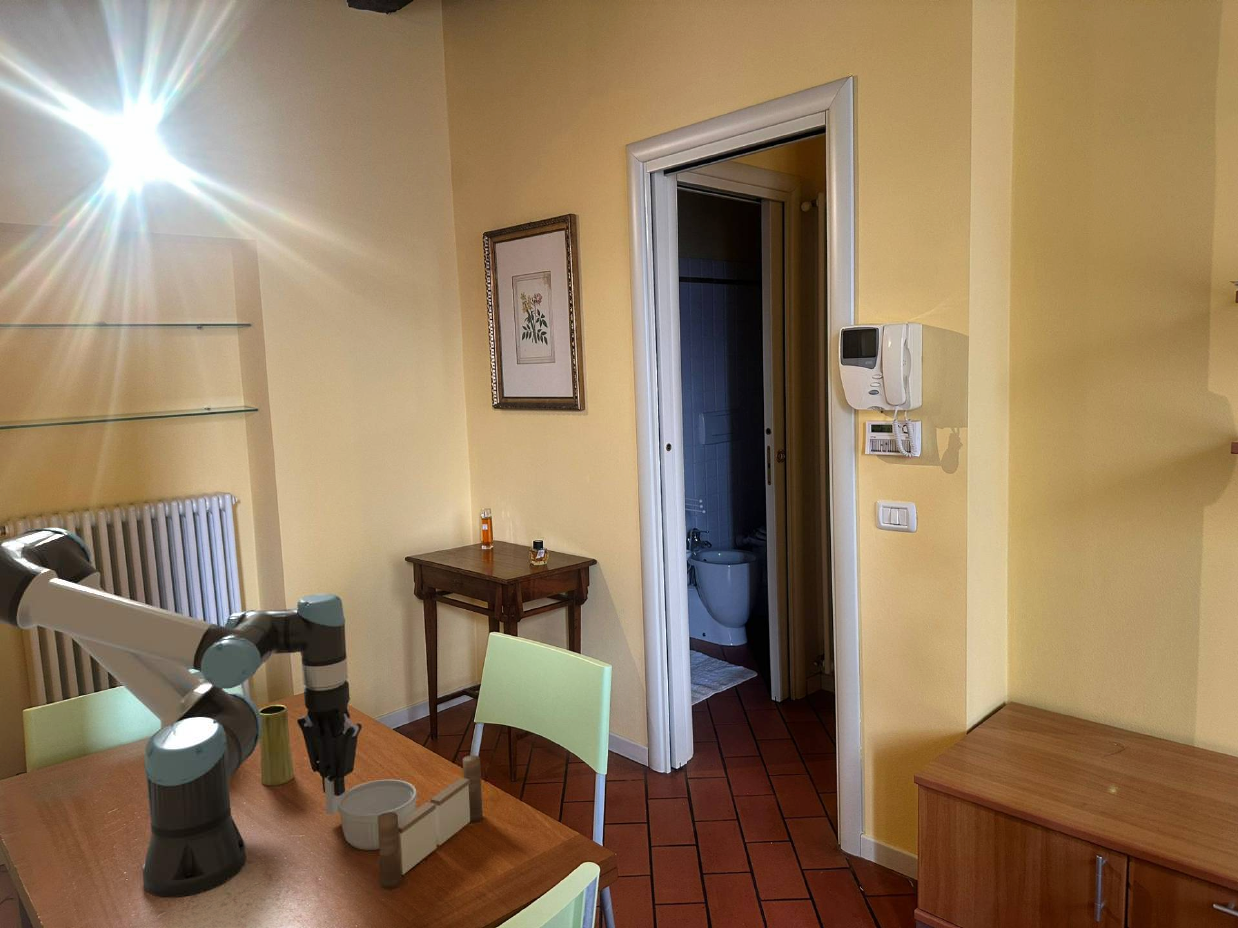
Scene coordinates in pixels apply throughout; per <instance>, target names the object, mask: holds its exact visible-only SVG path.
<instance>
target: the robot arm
mask: <svg viewBox="0 0 1238 928" xmlns="http://www.w3.org/2000/svg"><path fill="white" fill-rule="evenodd" d="M91 555H92V554H91V551H90V549H89V547H88V545H87V544H86V542H85V541H84V540H83V538H81V537H79V536H78V535H77V534H75V533H74V532H72V531H69V530H66V529H64V528H60V527H44V528H36V529H30V530H26V531H24V532H22V533H19V534H18V535H15V536H12V537H9V538H7V539H3V540H0V623H2V624H5V625H8V626H12V627H16V628H19V629H23V630H29V629H32V628H34V627H36V626H38V627H42V628H45V629H49V630H53V631H56V632H59V633H63V634H67V635H68V636H69V637H70V638H72V640H73V641H74V642H76V643H77V644H78V645H79V646H80V647H81V648H82V649H83V650H84V651H86V652H87V653H88V654H89V655H90V656H91V657H92V658H93V659H94V660H95V661H96V662H97V663H98V664H99V665H100V666H101V667H103V668H104V669H105V670H106V671H107V672H108V673H109V674H110V675H112V677H113V678H114V679H115V680H117V682H118V683H120V684H121V685H122V686H123V687H124V688H125V689H126V690H127V691H128V692H129V693H130V694H131V695H133V696H134V697H135V698H136V699H137V700H138V701H139V702H140V703H141V704H142V705H143V706H144V707H146V709H148V710H149V711H150V712H151V713H152V714H153V715H154V716H155V717H156V718H158V720H159V721H160V729H159V730H157V731H156V732H155V733H154V734H153V735H152V736H151V737H150V738H149V740H148V742H146V745H145V749H144V762H143V766H144V767H143V769H144V773H145V778H146V788H147V797H148V799H147V800H148V810H149V819H150V828H151V829H150V830H151V831H150V832H151V835H150V839H149V843H148V847H147V852H146V856H145V860H144V863H143V865H142V882H143V887H144V889H145V890H146V891H147V892H148V893H150V894H153V895H156V896H159V897H170V898H171V897H182V896H183V897H185V896H189V895H194V894H198V893H202V892H205V891H207V890H211V889H213V888H215V887H218V886H220V885H222V884H224V883H225V882H227V881H229V880H231V878H234V876H236V875H237V874H238V873H239V872H240V871H241V870H242V869H243V867H244V866H245V864H246V861H247V851H246V850H247V849H246V843H245V840H244V839H243V836H242V835H241V832H240V831H239V828H238V826H237V824H236V823H235V820H234V819H233V816H232V811H231V809H232V808H231V797H230V786H229V785H230V784H229V783H230V779H231V778H232V777H233V776H234V775H235V774H236V772H237V771H238V770H239V768H240V767H241V766H242V764H243V763H244V762H245V761H246V760H247V759H248V758H249V757H250V756H251V755H252V754H253V753H254V751H255V749H256V747H257V745H258V743H259V742H260V737H261V733H262V718H261V714H260V712H259V710H260V709H259V708H258V707H257V705H256V703H254V701H252V700H251V699H250V698H249V697H247V696H245V695H243V694H241V693H237V692H236V693H232V692H228V693H226V691H225V690H224V689H227V690H229V689H232V688H233V689H234V688H236V687H238V686H240V685H242V684H243V683H245V682H246V681H247V680H249V679H250V678H252V677H253V676H254V675H255V674H256V672H257V671H258V669H259V668H260V667H261V666H262V665H263V664H264V663H265V662H267V660H268V659H270V658H271V657H272V656H273V655H277V654H279V655H280V654H295V653H300V656H301V667H302V668H301V671H302V684H303V685H304V687H303V694H304V695H303V696H304V706H305V708H306V709H307V714H306V715H304V716H302V717H300V718H297V724H298V726H299V728H300V730H301V732H302V736H303V739H304V743H305V747H306V751H307V755H308V759H309V763H310V766H311V767H310V768H311V770H312V772H314V773H316V772H317V773H318V774H319V776H320V777H321V781H322V783H321V784H322V791H323V793H324V794H325V805H326V814H327V815H332V816H335V814H337V813H339V812H338V801H339V799H340V797H341V796H342V795H343V794H344V793H345V792H346V785H345V777H346V776H348V775H350V774H351V773H353V772H354V766H355V759H356V753H357V751H356V750H357V745H358V738H359V737H358V736H359V734H360V732H361V730H362V724H361V723H359V722H357V723H355V722H353V721H352V719H350V718H351V715H350V712H349V709H348V704H349V702H350V700H351V699H350V683H349V681H348V678H349V674H348V671H349V670H348V658H347V657H348V655H347V646H346V645H347V644H346V643H347V642H346V624H345V623H346V618H345V615H344V607H343V601H342V599H341V597H340V596H339V595H336V594H333V593H317V594H310V595H306V596H304V597H301V598H300V599H299V600H298V601H297V607H296V608H292V609H291V608H290V609H289V608H288V609H267V610H266V609H265V610H254V609H249V610H246V611H239V612H234V613H231V614H230V615H229V616H228V617H227V619H226V622H225V624H224V626H222V625H220V624H219V625H218V624H216V623H212V622H209V621H206V620H202V619H198V618H195V617H191V616H189V615H188V616H187V615H185V614H182V613H178V612H175V611H171V610H168V609H164V608H161V607H157V606H154V605H151V604H147V603H144V602H141V601H136V600H133V599H129V598H126V597H123V596H119V595H115V594H112V593H109V592H106V591H105V590H104V589H103V588H102V587H101V573H100V572H99V571H98V570H97V569H96V568H95V567H94V566H93V565H92V564H93V562H92V560H91ZM189 669H192V670H196V671H197V672H199V671H201V672H202V674H203V676H204V678H205V679H206V680H207V681H208V682H209V683H203V682H200V681H199V680H198V679H197V678H196V677H195V676H194V675H193V674H192V673H193V672H191V671H190V670H189Z"/></svg>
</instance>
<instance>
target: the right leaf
mask: <svg viewBox="0 0 1238 928" xmlns="http://www.w3.org/2000/svg"><path fill="white" fill-rule="evenodd" d="M469 784H470V779H466V778H464V777H460V778H459V779H457V780H456V781H454V782H453V783H452V784H450V785H448V786H447V787H446V788H444V789H443V790H442V791H440V792H438V793H437V794H436V795H434V796H433V797H432V798H430V803H434V804H436V809H435V810H434V811H435V830H436V845H438V846H441V845H442V844H444V843H445V842H446V841H447V840H448V839H450V838H451V837H452V836H454V835H456V833H457V832H459V831H460V830H461V829H462V828H463V827H465V826H467V824H469V823H471V822H470V807H469V786H468V785H469Z"/></svg>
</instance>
